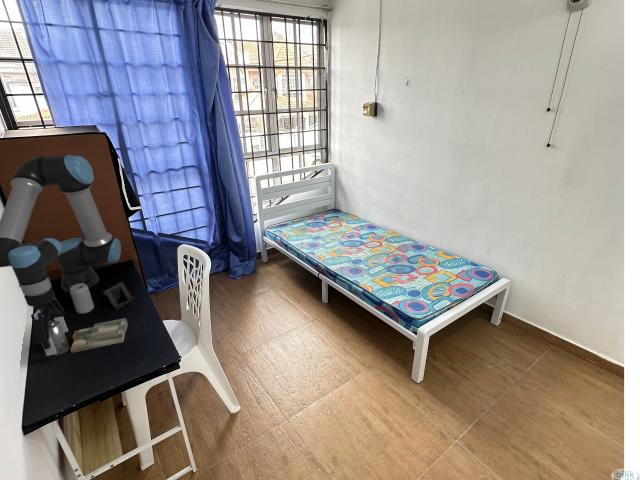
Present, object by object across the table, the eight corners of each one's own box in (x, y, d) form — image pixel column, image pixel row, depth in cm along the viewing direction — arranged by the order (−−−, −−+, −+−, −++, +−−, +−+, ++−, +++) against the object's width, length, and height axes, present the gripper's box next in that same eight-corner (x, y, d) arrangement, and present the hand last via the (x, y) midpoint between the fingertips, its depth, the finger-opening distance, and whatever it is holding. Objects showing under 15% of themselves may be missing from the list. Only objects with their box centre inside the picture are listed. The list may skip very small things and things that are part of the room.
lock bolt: (77, 335, 125) (75, 330, 124) (92, 332, 127) (90, 327, 126) (74, 341, 122) (72, 336, 121) (89, 338, 124) (88, 333, 123)
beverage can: (86, 315, 140) (77, 291, 135) (73, 313, 141) (64, 289, 137) (98, 307, 146) (90, 283, 141) (85, 305, 147) (78, 282, 142)
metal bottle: (55, 347, 122) (44, 320, 117) (71, 344, 123) (61, 317, 119) (50, 356, 117) (39, 328, 113) (67, 353, 119) (56, 325, 114)
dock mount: (80, 332, 129) (78, 325, 128) (127, 323, 135) (125, 316, 133) (71, 352, 119) (68, 345, 118) (123, 341, 124) (120, 334, 123)
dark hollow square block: (117, 310, 143) (112, 294, 140) (105, 306, 146) (100, 290, 143) (135, 300, 151) (130, 284, 148) (122, 296, 154) (118, 281, 151)
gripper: (38, 276, 120) (56, 325, 128) (7, 313, 99) (31, 368, 107) (62, 273, 122) (79, 321, 131) (37, 308, 101) (59, 362, 110)
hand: (58, 342), depth 119 cm, fingers open, 12 cm apart
